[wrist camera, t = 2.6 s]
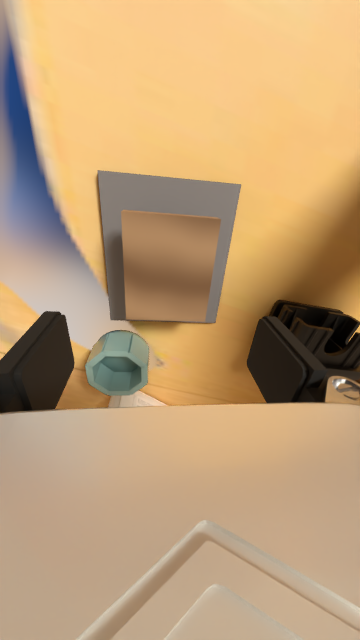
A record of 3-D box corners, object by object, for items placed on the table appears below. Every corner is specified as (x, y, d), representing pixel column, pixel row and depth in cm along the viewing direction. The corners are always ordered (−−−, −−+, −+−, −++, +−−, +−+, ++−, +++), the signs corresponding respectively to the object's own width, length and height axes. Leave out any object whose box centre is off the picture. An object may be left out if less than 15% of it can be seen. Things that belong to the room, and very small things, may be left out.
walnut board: (123, 209, 17) (121, 211, 16) (217, 217, 18) (221, 219, 17) (128, 312, 22) (126, 319, 21) (202, 314, 23) (204, 321, 21)
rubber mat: (99, 170, 18) (88, 167, 16) (239, 184, 20) (251, 183, 17) (111, 317, 26) (105, 332, 23) (214, 320, 27) (220, 335, 24)
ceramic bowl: (92, 329, 26) (82, 350, 23) (149, 330, 27) (148, 351, 23) (98, 371, 29) (90, 395, 26) (148, 371, 30) (147, 395, 27)
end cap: (250, 346, 29) (273, 385, 24) (272, 298, 26) (305, 329, 20) (316, 354, 31) (352, 393, 25) (345, 310, 28) (394, 343, 22)
